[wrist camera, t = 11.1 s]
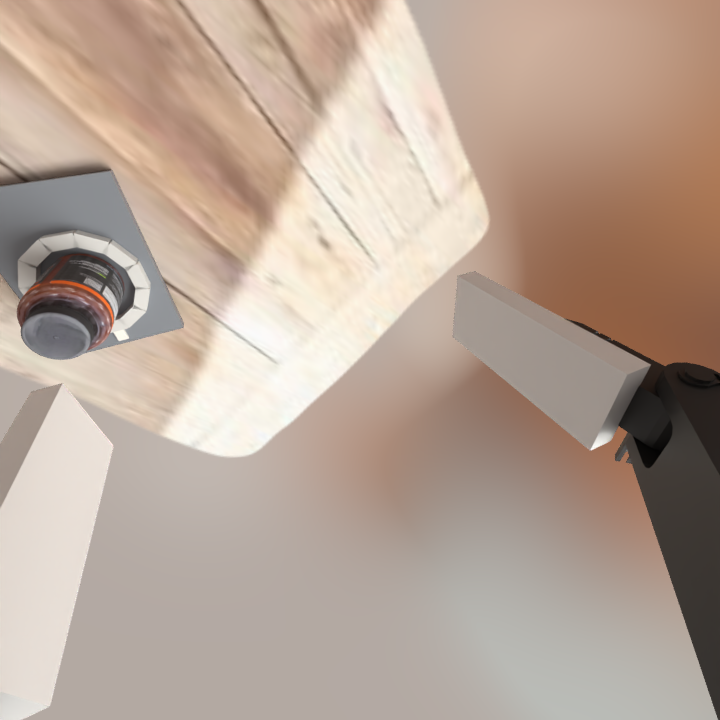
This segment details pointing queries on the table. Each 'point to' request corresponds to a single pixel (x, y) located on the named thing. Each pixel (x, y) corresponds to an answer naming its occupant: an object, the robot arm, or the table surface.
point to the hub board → (84, 246)
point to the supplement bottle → (71, 307)
